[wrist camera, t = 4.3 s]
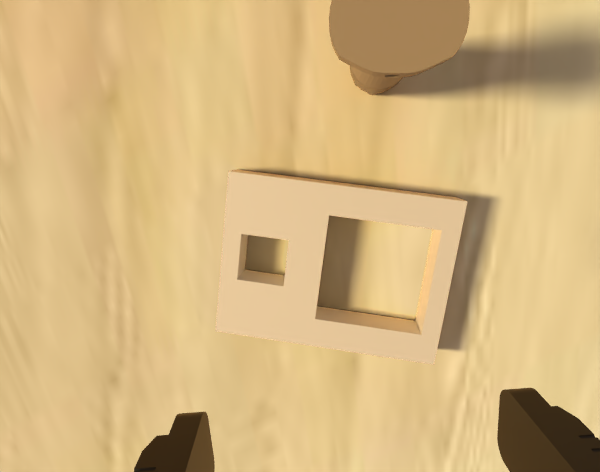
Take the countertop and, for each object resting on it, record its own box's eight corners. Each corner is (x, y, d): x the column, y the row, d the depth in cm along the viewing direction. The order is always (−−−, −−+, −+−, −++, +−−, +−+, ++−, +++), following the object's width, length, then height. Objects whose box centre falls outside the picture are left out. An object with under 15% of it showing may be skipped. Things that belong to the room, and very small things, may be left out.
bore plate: (224, 317, 40) (215, 331, 37) (237, 169, 37) (228, 171, 34) (426, 348, 38) (434, 364, 35) (456, 197, 35) (467, 201, 32)
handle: (334, 42, 34) (331, -39, 19) (415, 42, 33) (475, -41, 19) (332, 104, 35) (327, 72, 20) (410, 106, 34) (463, 73, 20)
